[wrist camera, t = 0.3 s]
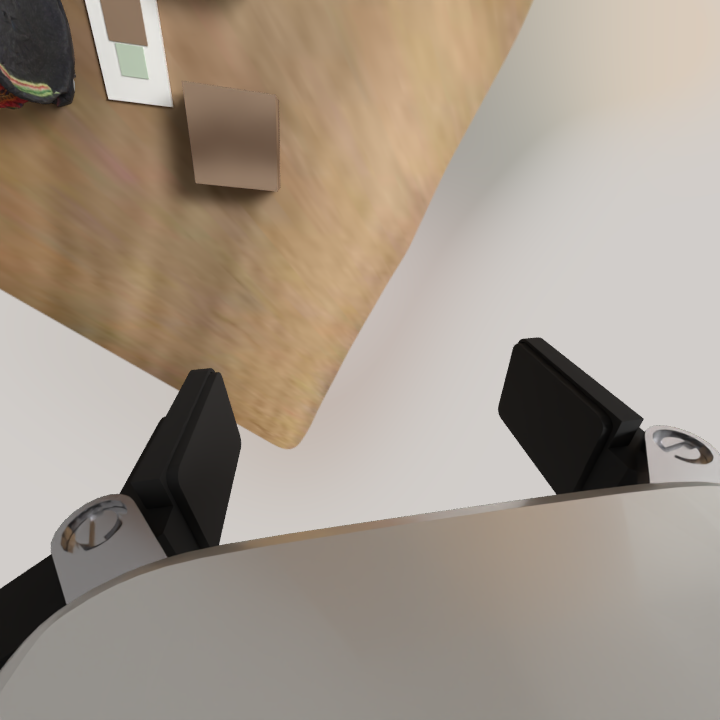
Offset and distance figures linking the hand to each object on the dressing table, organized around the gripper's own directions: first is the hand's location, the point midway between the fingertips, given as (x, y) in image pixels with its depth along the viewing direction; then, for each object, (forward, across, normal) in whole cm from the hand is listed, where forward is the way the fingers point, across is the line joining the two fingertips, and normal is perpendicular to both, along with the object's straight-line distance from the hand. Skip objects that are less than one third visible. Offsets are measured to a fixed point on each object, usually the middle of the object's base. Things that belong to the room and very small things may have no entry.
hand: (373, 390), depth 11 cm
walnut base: (+30, +7, -8) cm, 32 cm away
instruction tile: (+30, +15, -15) cm, 36 cm away
